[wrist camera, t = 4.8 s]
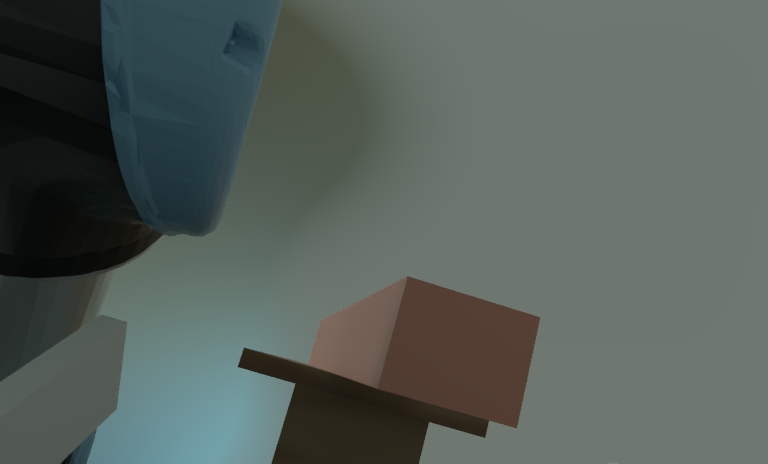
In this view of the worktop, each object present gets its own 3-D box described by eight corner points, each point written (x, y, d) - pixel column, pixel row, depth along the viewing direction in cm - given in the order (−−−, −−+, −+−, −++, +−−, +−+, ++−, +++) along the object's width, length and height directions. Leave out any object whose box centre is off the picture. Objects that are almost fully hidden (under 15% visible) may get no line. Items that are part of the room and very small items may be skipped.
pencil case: (516, 428, 18) (540, 317, 19) (377, 388, 18) (407, 276, 19) (363, 380, 47) (375, 336, 48) (307, 364, 47) (321, 320, 48)
